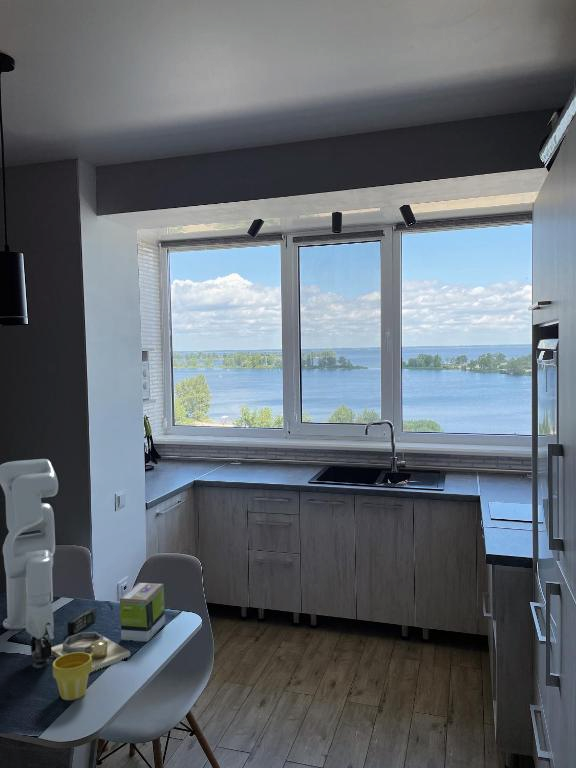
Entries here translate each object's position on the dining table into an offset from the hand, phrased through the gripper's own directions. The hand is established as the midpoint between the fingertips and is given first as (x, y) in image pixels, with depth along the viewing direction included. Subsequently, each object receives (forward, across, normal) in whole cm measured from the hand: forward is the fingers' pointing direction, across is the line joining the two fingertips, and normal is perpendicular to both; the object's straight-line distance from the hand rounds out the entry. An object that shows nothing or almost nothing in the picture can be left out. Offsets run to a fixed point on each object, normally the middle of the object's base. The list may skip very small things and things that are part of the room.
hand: (41, 654), depth 186 cm
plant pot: (+3, +24, -2) cm, 24 cm away
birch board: (+3, +6, +13) cm, 15 cm away
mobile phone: (+3, -15, +22) cm, 27 cm away
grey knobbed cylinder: (+3, 0, 0) cm, 3 cm away
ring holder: (+1, +2, +13) cm, 13 cm away
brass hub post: (+1, +12, +13) cm, 18 cm away
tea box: (+3, +5, +34) cm, 35 cm away
